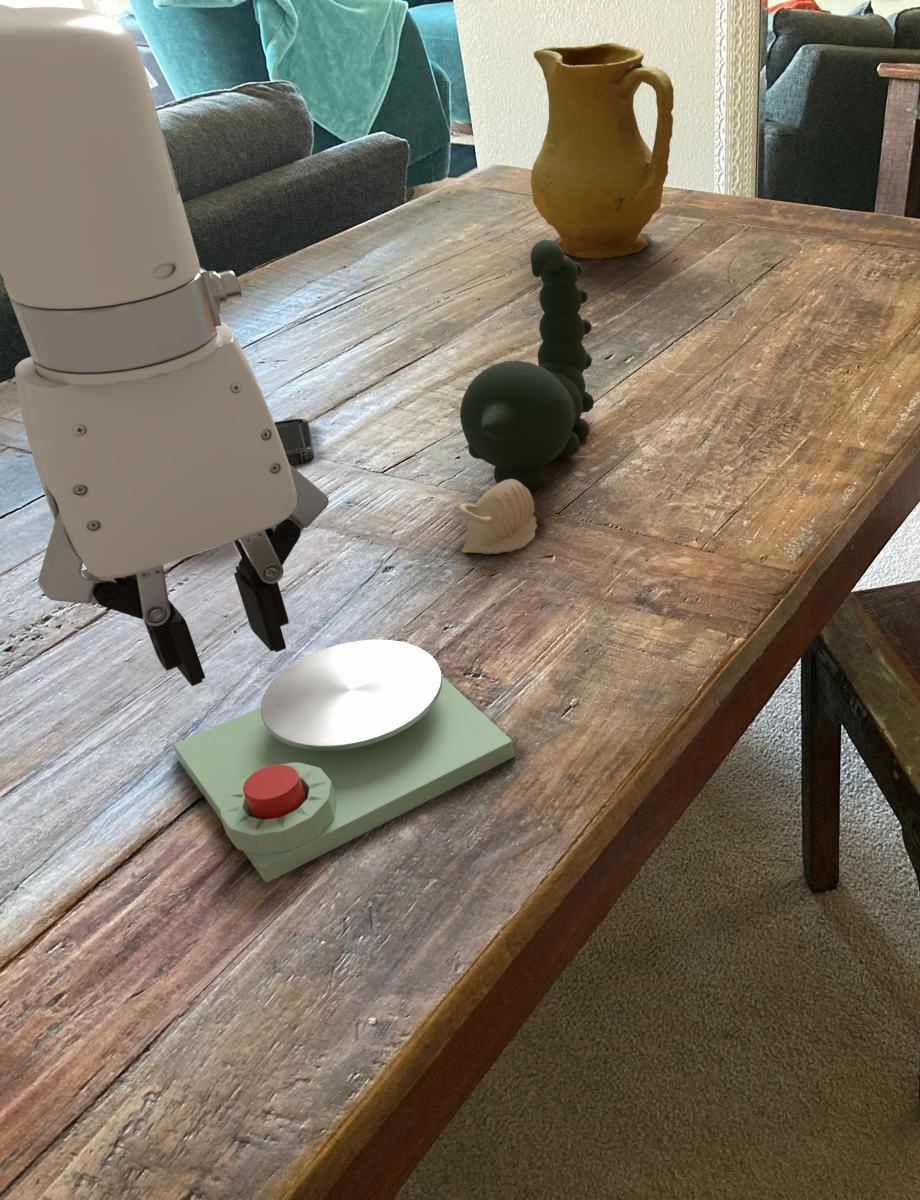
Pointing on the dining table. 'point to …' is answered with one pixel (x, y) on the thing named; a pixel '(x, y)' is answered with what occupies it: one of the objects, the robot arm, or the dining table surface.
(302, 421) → the phone
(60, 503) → the robot arm
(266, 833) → the scale
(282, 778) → the tare button
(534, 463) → the toy figurine
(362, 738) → the scale pan
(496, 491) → the decorative ornament
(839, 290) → the dining table surface
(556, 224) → the pitcher
